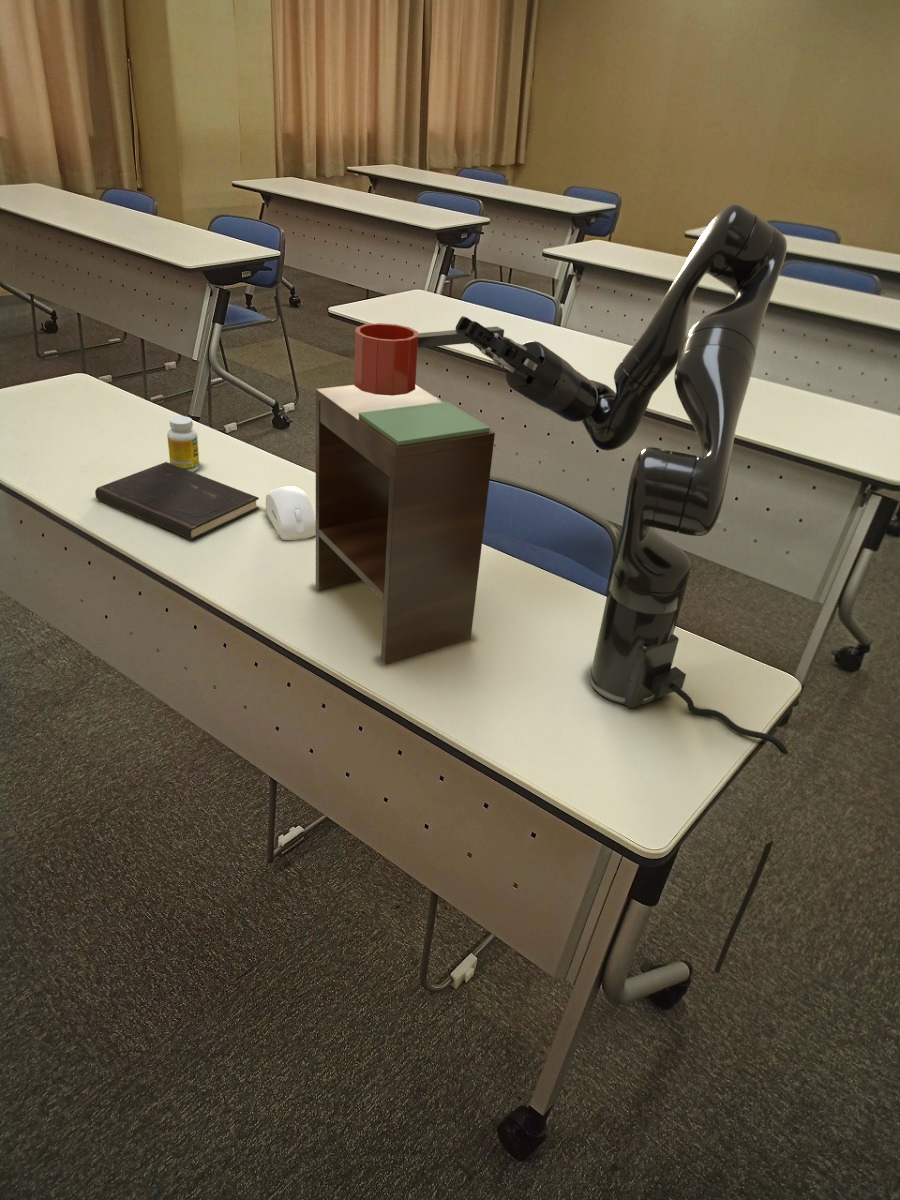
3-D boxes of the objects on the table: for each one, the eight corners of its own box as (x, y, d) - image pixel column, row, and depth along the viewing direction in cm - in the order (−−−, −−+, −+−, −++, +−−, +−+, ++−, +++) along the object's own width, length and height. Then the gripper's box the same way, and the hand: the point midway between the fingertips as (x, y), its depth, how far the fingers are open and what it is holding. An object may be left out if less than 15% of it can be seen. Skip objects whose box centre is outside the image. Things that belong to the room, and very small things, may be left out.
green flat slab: (489, 432, 105) (490, 427, 104) (398, 446, 98) (398, 441, 98) (446, 405, 111) (446, 401, 111) (358, 417, 105) (358, 412, 105)
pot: (512, 380, 118) (518, 329, 114) (372, 398, 107) (374, 342, 103) (480, 363, 123) (485, 314, 120) (344, 379, 113) (344, 325, 109)
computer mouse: (281, 543, 140) (280, 508, 137) (262, 509, 150) (261, 476, 146) (319, 538, 142) (319, 504, 139) (298, 505, 152) (298, 473, 149)
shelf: (470, 639, 121) (495, 433, 104) (384, 664, 114) (396, 448, 98) (395, 568, 136) (406, 378, 120) (315, 587, 129) (315, 388, 113)
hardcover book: (167, 473, 159) (166, 461, 158) (259, 509, 150) (258, 497, 148) (95, 500, 147) (94, 488, 146) (191, 541, 138) (189, 529, 136)
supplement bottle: (171, 462, 163) (166, 414, 158) (200, 462, 165) (196, 414, 159) (169, 473, 159) (164, 425, 154) (199, 473, 160) (195, 425, 155)
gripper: (528, 341, 130) (450, 287, 118) (586, 368, 120) (508, 312, 108) (503, 385, 131) (424, 336, 120) (559, 415, 122) (479, 365, 110)
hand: (464, 325), depth 114 cm, fingers closed on pot
